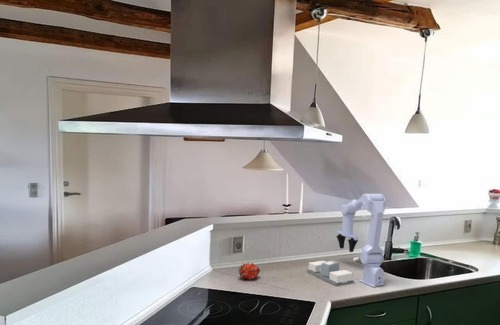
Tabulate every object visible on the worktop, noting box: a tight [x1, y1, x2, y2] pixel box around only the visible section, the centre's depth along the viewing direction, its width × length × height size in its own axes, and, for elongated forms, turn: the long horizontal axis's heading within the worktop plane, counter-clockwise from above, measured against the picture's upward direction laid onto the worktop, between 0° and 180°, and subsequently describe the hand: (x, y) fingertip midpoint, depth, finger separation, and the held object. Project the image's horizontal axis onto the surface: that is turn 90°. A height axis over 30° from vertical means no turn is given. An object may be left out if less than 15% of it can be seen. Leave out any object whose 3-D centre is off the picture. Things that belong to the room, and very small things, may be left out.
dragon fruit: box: [238, 262, 261, 281], centre depth 182 cm, size 8×8×12 cm
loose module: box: [321, 259, 340, 277], centre depth 189 cm, size 4×9×6 cm, turn 133°
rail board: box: [306, 260, 355, 287], centre depth 188 cm, size 22×12×5 cm, turn 28°
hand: (346, 250), depth 206 cm, fingers open, 7 cm apart
